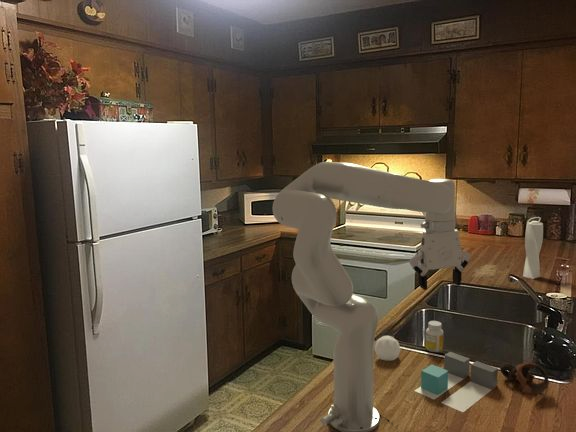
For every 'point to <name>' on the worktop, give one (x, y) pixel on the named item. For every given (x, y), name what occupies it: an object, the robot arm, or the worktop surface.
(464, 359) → the strip with cube
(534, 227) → the skyscraper
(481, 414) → the worktop surface
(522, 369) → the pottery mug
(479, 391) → the empty strip
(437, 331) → the supplement bottle
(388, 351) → the ball
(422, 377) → the cube
